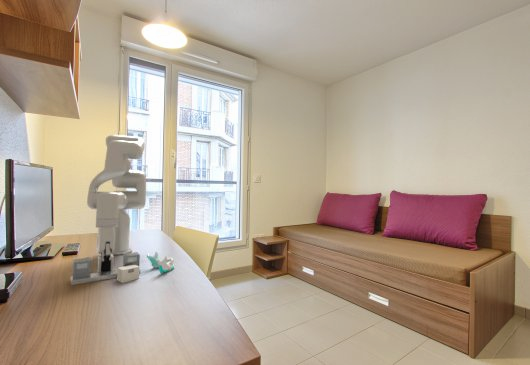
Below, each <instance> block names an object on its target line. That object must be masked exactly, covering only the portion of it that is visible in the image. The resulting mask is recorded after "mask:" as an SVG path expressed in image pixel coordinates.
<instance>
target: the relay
mask: <svg viewBox="0 0 530 365" xmlns="http://www.w3.org/2000/svg"><path fill="white" fill-rule="evenodd" d="M139 269H140V265H139V266H137V265H129V266H124V267H123V266H121V267H117V270H118V273H117V278H116V280H117V281H118V282H120V283H122V284H124V283H126V282H130V281H133V280H138V279H140V274H139Z"/></svg>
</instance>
